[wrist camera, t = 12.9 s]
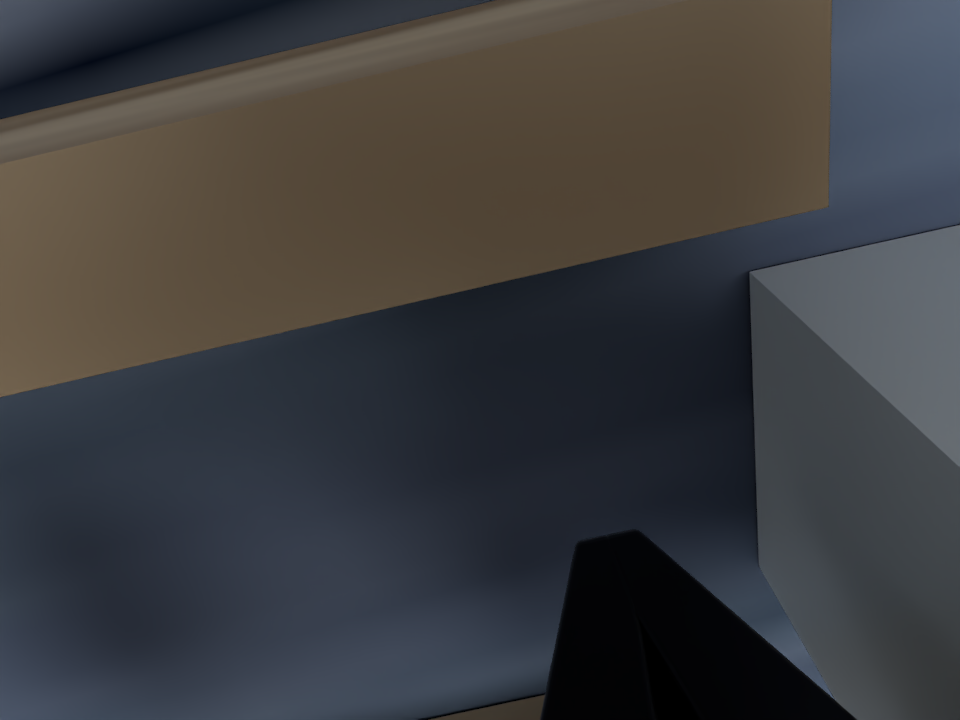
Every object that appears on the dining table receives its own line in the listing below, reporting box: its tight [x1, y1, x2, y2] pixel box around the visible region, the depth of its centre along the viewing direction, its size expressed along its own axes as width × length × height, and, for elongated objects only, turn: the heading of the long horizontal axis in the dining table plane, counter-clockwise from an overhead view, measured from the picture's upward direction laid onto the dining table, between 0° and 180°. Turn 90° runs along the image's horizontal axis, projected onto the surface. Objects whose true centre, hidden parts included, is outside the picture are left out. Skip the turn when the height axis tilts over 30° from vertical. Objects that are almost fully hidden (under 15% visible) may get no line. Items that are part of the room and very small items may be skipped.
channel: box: [0, 0, 832, 720], centre depth 9 cm, size 12×16×4 cm
